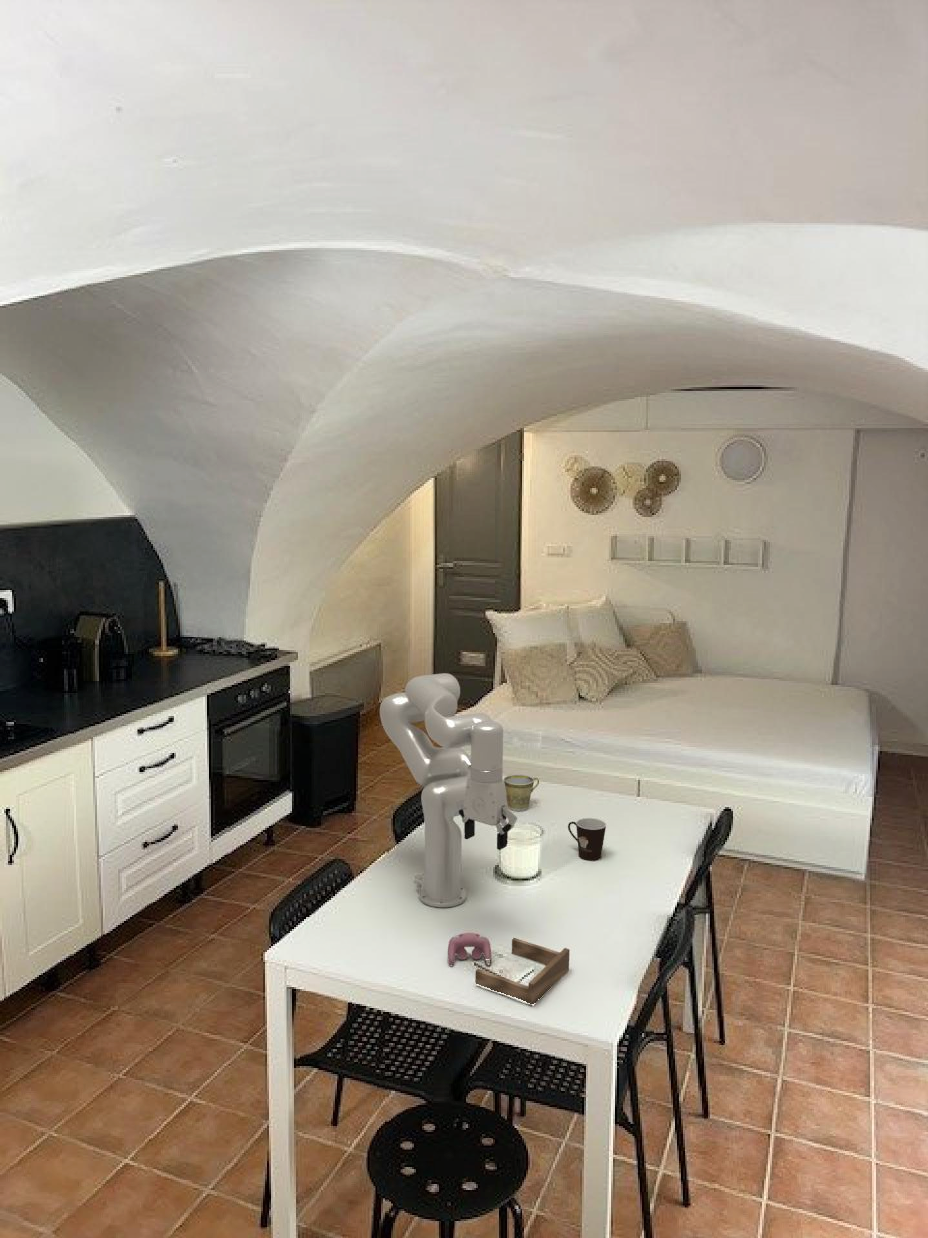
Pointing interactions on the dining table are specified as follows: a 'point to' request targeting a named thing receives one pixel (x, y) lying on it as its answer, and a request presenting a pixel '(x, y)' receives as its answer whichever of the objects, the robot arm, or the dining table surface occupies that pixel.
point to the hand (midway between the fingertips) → (485, 842)
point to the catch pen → (540, 982)
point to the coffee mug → (589, 838)
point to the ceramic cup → (519, 791)
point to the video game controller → (468, 940)
